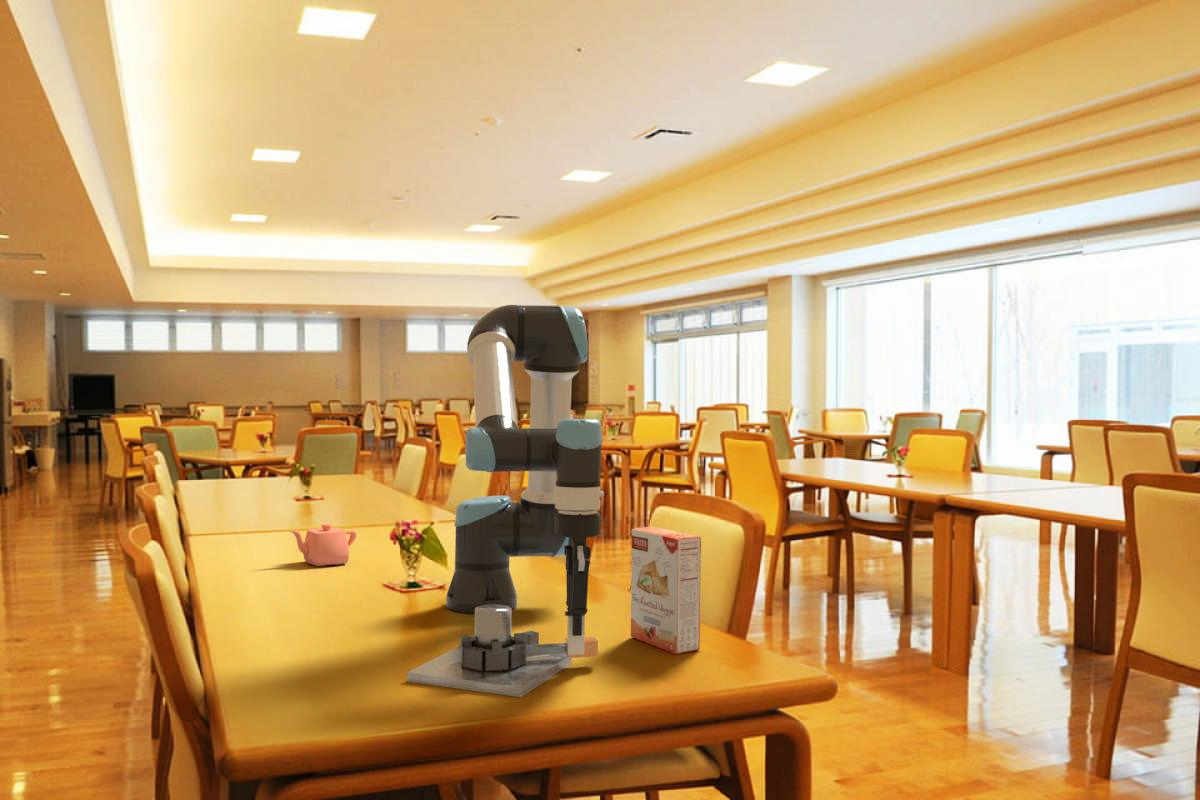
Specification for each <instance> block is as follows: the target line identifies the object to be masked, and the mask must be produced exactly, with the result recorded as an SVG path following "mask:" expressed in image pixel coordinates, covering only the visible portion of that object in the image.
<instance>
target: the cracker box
mask: <svg viewBox="0 0 1200 800" xmlns="http://www.w3.org/2000/svg"><path fill="white" fill-rule="evenodd" d="M701 558H702V537H701V536H700V535H699V536H698V535H694V534H690V533H686V532H681V531H677V530H671V529H667V528H663V527H658V526H645V527H643V526H642V527H634V528H632V529H631V569H630V570H631V571H630V572H631V574H630V575H631V577H630V578H631V579H630V580H631V581H630V583H631V585H630V587H631V588H630V589H631V590H630V637H631V638H633V639H635V638H636V640H638V641H641V642H643V641H644V642H643V643H646V644H648V645H651V646H654V647H656V648H658V649H660V650H661V649H662V650H664V651H666V652H668V653H671V654H674V655H680V654H684V653H685V654H686V653H690V652H695V651H696V652H697V651H700V648H701V576H702V573H701V571H702V570H701V568H702V566H701V565H702V560H701Z"/></svg>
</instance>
